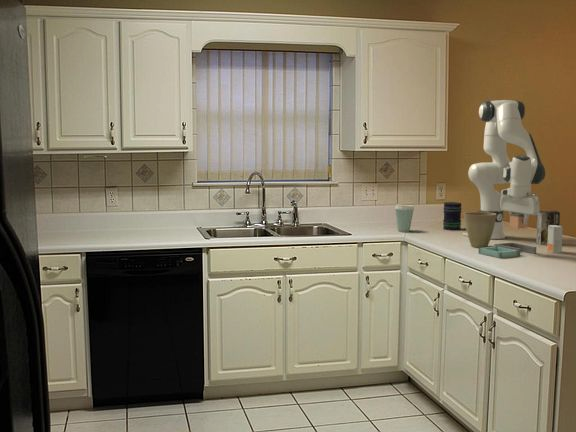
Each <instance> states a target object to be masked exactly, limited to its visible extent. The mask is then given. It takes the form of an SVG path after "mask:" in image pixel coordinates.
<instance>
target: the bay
mask: <svg viewBox="0 0 576 432" xmlns="http://www.w3.org/2000/svg"><path fill="white" fill-rule="evenodd" d="M495 246H498V247H503V248H508V249H513V250H518V251H519V255H518V256H517V257H519V256H521V252H522V253H528V254H533V255H535V254H537V247H536V246H533V245H528V244H522V243H516V242H504V243H503V242H502V243H494V244H493V247H495Z"/></svg>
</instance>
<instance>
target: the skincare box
mask: <svg viewBox="0 0 576 432" xmlns="http://www.w3.org/2000/svg"><path fill="white" fill-rule="evenodd" d="M563 229H564V227H563V226H561V225H559V226H557V225H548V243H547V245H546V248H547V249H546V251H548V252H550V253H552V254H561V253H562V252H563V251H562V249H563Z"/></svg>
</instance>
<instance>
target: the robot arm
mask: <svg viewBox="0 0 576 432" xmlns="http://www.w3.org/2000/svg"><path fill="white" fill-rule="evenodd" d="M478 115H479V119H480V120H481V121H482V122H484V123H485V126H484V135H483V150H484V152H485V154H487V155H489V156H491V159H492V162H488V161H487V162H477V163H473V164H471V165H470V167H469V169H468V172H467V173H468V174H467V175H468V178H469V180H470V182H471V183H473V184H474V185H475V186H476V188H477V190H478V192H479V197H480V209H479V210H477V211H476V212H489V213H495V214H496V220H495V225H494V229H493V233H492V236H491V239H490V240H501V239H505V238H506V235H505V229H504V220H503V219H504V212H508V214H509V216H510V214H513V213H523V214H524V216H525V217H524V219H523V220H522V223H523V224H527V220H528V221H529V218H530V216H537V215H538V214H539V212H540V211H541V209H540V201H539V200H540V198H539V195H538V194H537V193H532V185H539V184H540V183H541V182H543V181H544V179H546V170H545V167H544V164H543V162H542V160H541V158H540V155H539V151H538V149H537V146H536V144H535V142H534V141H535V140H534V138H533V136H532V134H531V133H530V132H528V131H527V130H526V129H525V127H524V126H523V124H522V120H523V119H524V118H525V116H526V108H525V104H524V102H523V101H521V100H511V99H509V100H508V99H501V100H500V99H499V100H497V99H496V100H485V101H483V102H481V104H480V105H479V109H478ZM508 143H509V144H512V145H514V146H518V147H520V148H521V149H523V150H524V152H525V154H526V155H514V156H513V157H512V159H510V158H509V156H508V151H507V144H508ZM511 160H512V161H511ZM497 184H510V185H509V187H507V188H504V189H502V190H501V191H498V190H496V189H495V187H494V185H497ZM462 235H463V236H467V237H468V234H467V231H465V232H464V231H463V232H462Z"/></svg>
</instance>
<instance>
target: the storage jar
mask: <svg viewBox="0 0 576 432" xmlns="http://www.w3.org/2000/svg"><path fill="white" fill-rule="evenodd" d="M461 214H462V203H461V202H456V201H453V202H452V201H451V202H449V201H448V202H443V219H442V220H443V221H442V225H443V226H442V227H443V228H442V229H443V230H445V231H451V232H453V231H461V230H462V228H461V227H462V219H461V218H462V216H461Z"/></svg>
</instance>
